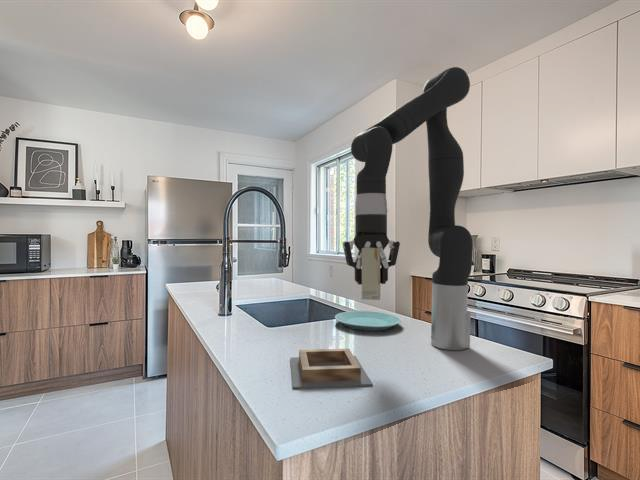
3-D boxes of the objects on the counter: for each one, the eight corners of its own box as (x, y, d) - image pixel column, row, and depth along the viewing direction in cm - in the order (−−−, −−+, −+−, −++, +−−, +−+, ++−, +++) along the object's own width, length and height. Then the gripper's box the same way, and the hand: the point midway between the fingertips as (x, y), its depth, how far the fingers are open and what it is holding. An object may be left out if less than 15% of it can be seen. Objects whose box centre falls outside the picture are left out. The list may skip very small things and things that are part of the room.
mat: (355, 357, 83) (355, 355, 83) (372, 385, 68) (372, 383, 68) (290, 359, 82) (290, 357, 82) (292, 389, 66) (292, 387, 66)
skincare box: (380, 300, 78) (380, 248, 78) (361, 300, 79) (361, 247, 79) (380, 295, 84) (380, 247, 84) (363, 295, 85) (363, 246, 85)
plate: (363, 314, 130) (363, 307, 130) (414, 326, 114) (414, 318, 114) (321, 324, 115) (321, 316, 115) (372, 339, 99) (372, 330, 99)
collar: (348, 358, 81) (349, 348, 81) (360, 380, 69) (360, 367, 69) (299, 360, 80) (299, 349, 80) (302, 382, 68) (302, 369, 68)
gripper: (394, 214, 86) (394, 281, 86) (339, 214, 84) (339, 282, 84) (405, 212, 78) (405, 285, 79) (344, 212, 77) (344, 286, 77)
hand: (371, 283), depth 81 cm, fingers closed on skincare box, 5 cm apart
